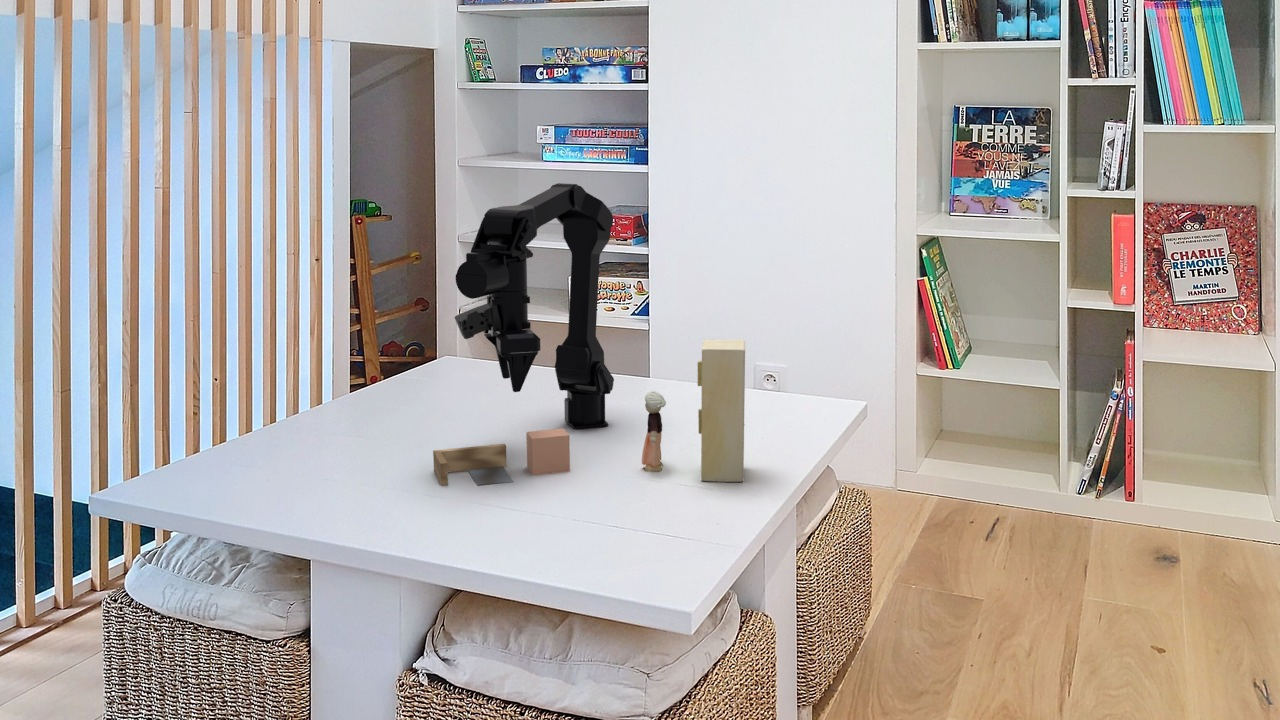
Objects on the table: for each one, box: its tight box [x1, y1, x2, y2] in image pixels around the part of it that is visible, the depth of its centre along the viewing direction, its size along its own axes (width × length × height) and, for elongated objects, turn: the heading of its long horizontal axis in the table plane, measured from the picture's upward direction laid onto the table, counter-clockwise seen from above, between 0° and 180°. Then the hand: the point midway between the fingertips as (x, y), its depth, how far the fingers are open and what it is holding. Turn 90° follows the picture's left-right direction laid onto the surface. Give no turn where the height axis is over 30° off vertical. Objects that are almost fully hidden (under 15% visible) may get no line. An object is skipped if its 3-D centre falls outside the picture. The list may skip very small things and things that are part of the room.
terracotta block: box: [526, 428, 571, 476], centre depth 187 cm, size 6×4×6 cm, turn 108°
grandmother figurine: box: [641, 390, 667, 473], centre depth 186 cm, size 8×4×13 cm, turn 5°
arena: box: [432, 443, 514, 487], centre depth 184 cm, size 12×9×4 cm
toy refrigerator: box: [697, 338, 746, 483], centre depth 183 cm, size 8×7×21 cm
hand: (511, 384), depth 189 cm, fingers open, 9 cm apart
